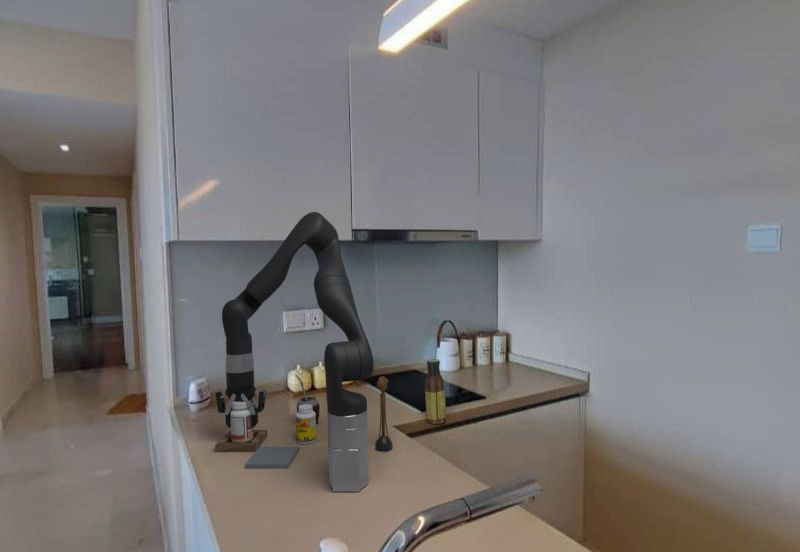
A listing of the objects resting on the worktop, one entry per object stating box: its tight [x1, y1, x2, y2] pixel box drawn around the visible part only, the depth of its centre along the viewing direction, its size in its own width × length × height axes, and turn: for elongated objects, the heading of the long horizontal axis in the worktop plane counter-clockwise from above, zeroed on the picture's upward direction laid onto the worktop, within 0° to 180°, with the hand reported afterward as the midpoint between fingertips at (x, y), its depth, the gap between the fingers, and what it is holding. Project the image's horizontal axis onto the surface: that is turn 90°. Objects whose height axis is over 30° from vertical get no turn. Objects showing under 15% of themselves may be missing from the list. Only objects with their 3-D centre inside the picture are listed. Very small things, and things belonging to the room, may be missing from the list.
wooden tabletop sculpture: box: [374, 376, 394, 453], centre depth 129 cm, size 6×5×20 cm
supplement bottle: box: [295, 404, 317, 445], centre depth 135 cm, size 6×6×10 cm
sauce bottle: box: [424, 358, 447, 425], centre depth 148 cm, size 6×6×20 cm
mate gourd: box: [295, 374, 320, 425], centre depth 149 cm, size 8×8×15 cm
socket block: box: [214, 429, 268, 453], centre depth 133 cm, size 11×11×2 cm
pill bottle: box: [230, 401, 254, 442], centre depth 133 cm, size 6×6×11 cm
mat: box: [244, 446, 300, 469], centre depth 123 cm, size 11×11×1 cm
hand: (242, 426), depth 133 cm, fingers closed on pill bottle, 6 cm apart
